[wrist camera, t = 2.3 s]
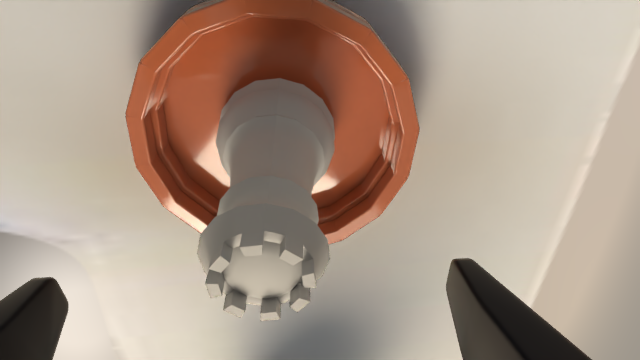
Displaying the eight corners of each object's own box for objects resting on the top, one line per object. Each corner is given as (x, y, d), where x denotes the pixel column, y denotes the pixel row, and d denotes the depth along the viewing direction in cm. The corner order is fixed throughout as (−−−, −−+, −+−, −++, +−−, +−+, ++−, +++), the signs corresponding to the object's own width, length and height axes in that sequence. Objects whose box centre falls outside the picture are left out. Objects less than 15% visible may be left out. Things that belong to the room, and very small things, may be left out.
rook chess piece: (217, 68, 15) (147, 202, 8) (341, 78, 15) (374, 214, 8) (222, 173, 17) (171, 343, 10) (328, 179, 17) (344, 347, 11)
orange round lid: (331, 248, 20) (334, 279, 18) (120, 174, 17) (101, 203, 16) (457, 66, 15) (476, 85, 14) (191, -79, 12) (175, -76, 11)
